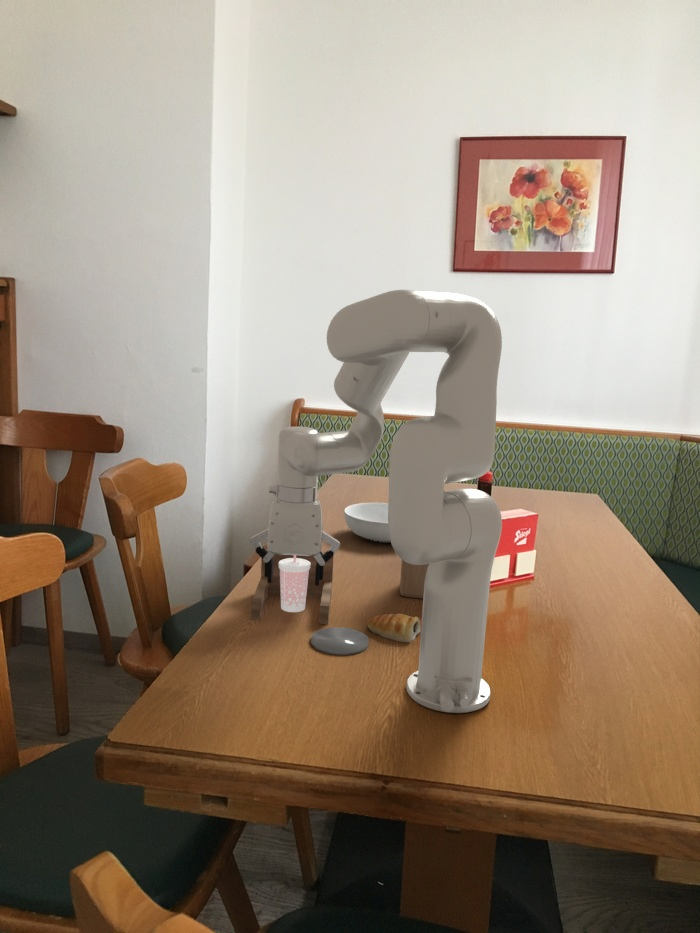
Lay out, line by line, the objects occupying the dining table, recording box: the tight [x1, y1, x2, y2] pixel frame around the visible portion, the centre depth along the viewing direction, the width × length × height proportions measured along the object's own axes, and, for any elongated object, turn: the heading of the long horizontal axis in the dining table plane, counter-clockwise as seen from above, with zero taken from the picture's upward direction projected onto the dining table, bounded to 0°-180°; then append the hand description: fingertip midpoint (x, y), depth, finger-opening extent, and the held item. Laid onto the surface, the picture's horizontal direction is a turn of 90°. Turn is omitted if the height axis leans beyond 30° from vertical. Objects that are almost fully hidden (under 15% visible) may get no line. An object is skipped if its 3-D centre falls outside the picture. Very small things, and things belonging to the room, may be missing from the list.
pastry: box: [366, 613, 421, 643], centre depth 135 cm, size 9×7×4 cm
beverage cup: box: [278, 555, 311, 613], centre depth 143 cm, size 6×6×14 cm
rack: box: [250, 548, 335, 625], centre depth 144 cm, size 15×14×9 cm
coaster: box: [310, 626, 370, 656], centre depth 130 cm, size 10×10×1 cm
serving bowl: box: [343, 502, 391, 543], centre depth 193 cm, size 21×21×7 cm
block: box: [399, 559, 429, 599], centre depth 154 cm, size 10×10×20 cm
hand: (293, 581), depth 143 cm, fingers open, 8 cm apart
